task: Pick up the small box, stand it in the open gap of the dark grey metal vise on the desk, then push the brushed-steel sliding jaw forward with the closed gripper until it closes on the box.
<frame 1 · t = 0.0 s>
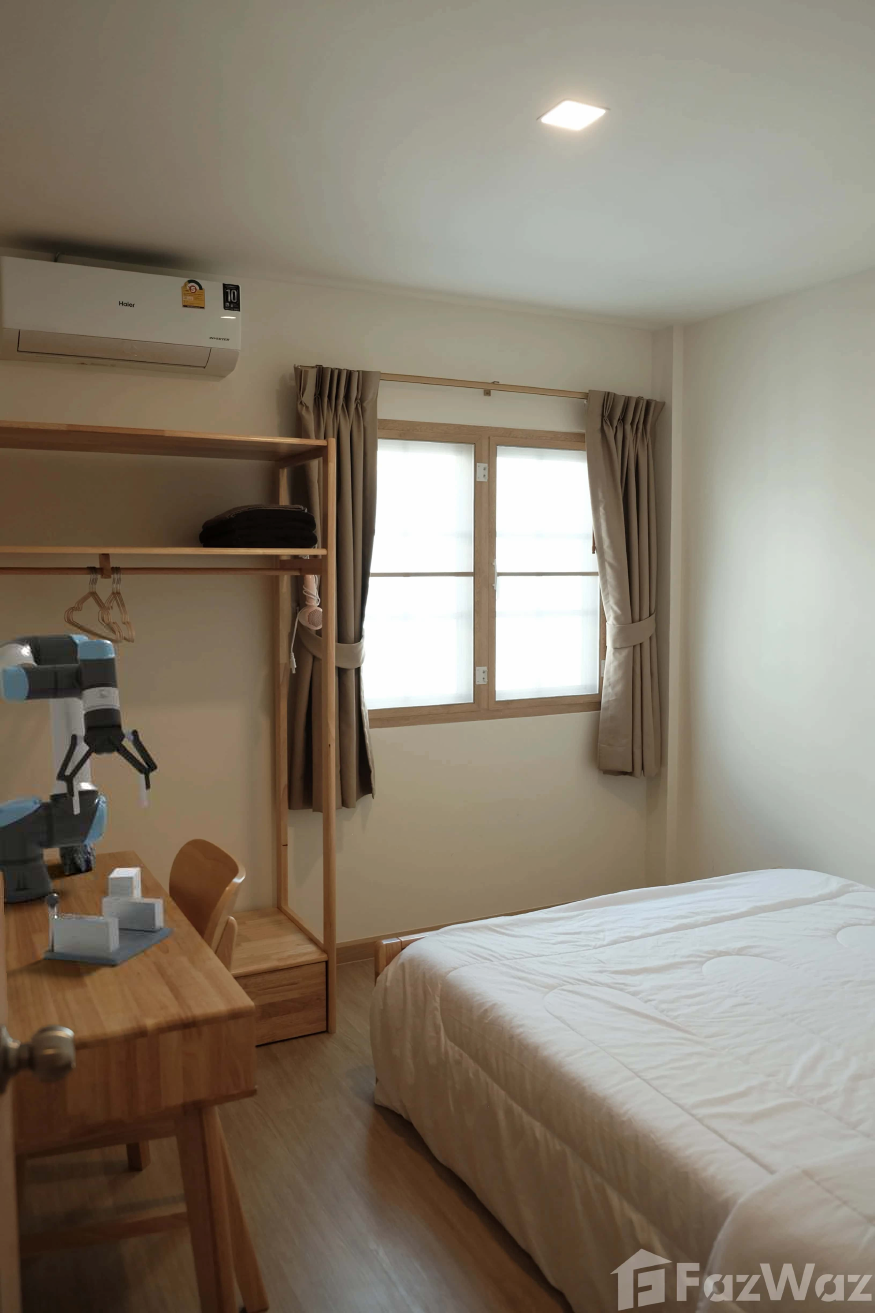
hand: (111, 809, 207), 28 cm above the table, tool tilted 20°, fingers open, 13 cm apart
stone block: (78, 867, 271), on the table
small box: (125, 918, 224), on the table
vise: (110, 945, 206), on the table
jaw: (132, 913, 213), point 4 cm above the table, slide at 0.0 cm
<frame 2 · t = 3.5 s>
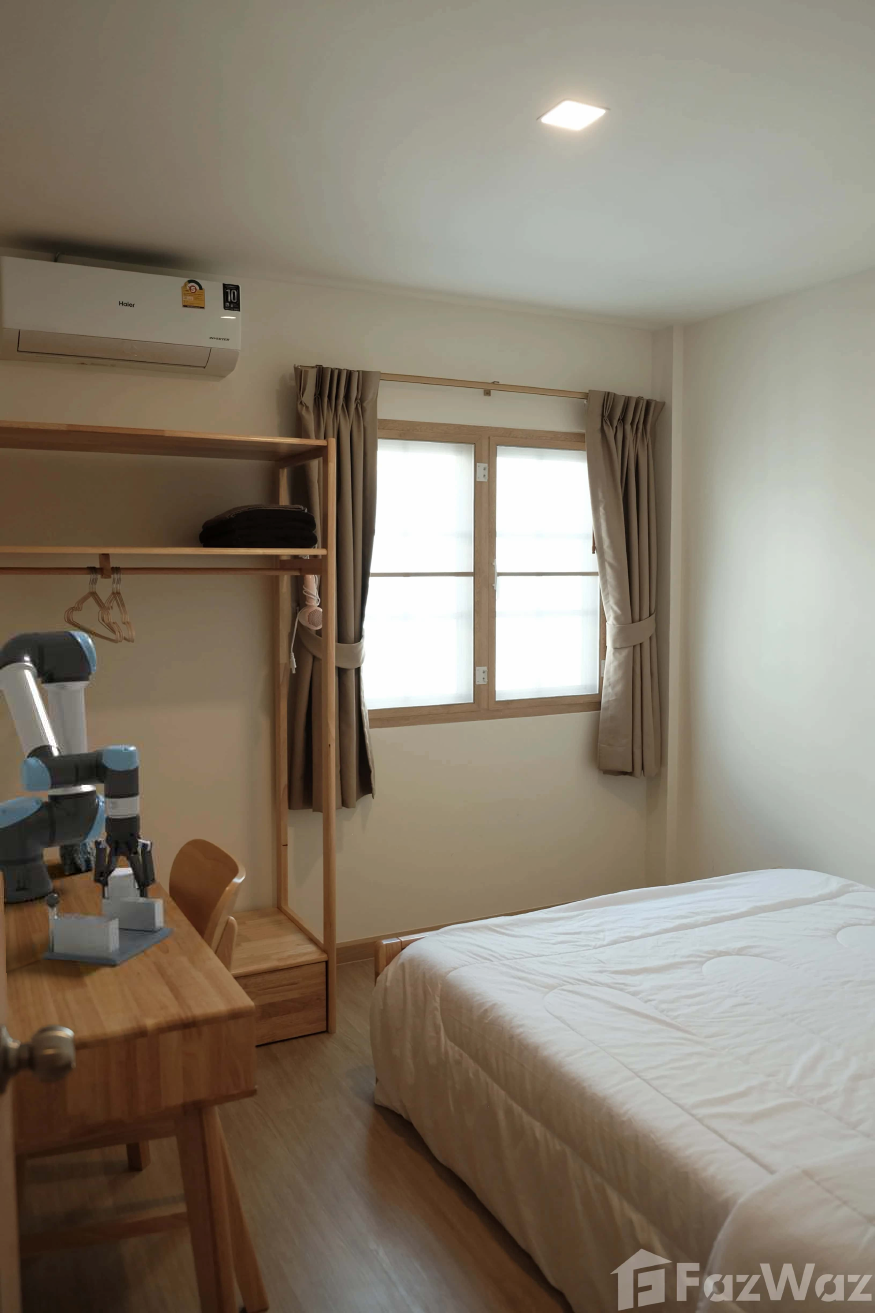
hand: (125, 915, 224), 1 cm above the table, tool pointing down, fingers closed on small box, 7 cm apart
small box: (125, 918, 224), on the table, touching gripper
everything else where it was.
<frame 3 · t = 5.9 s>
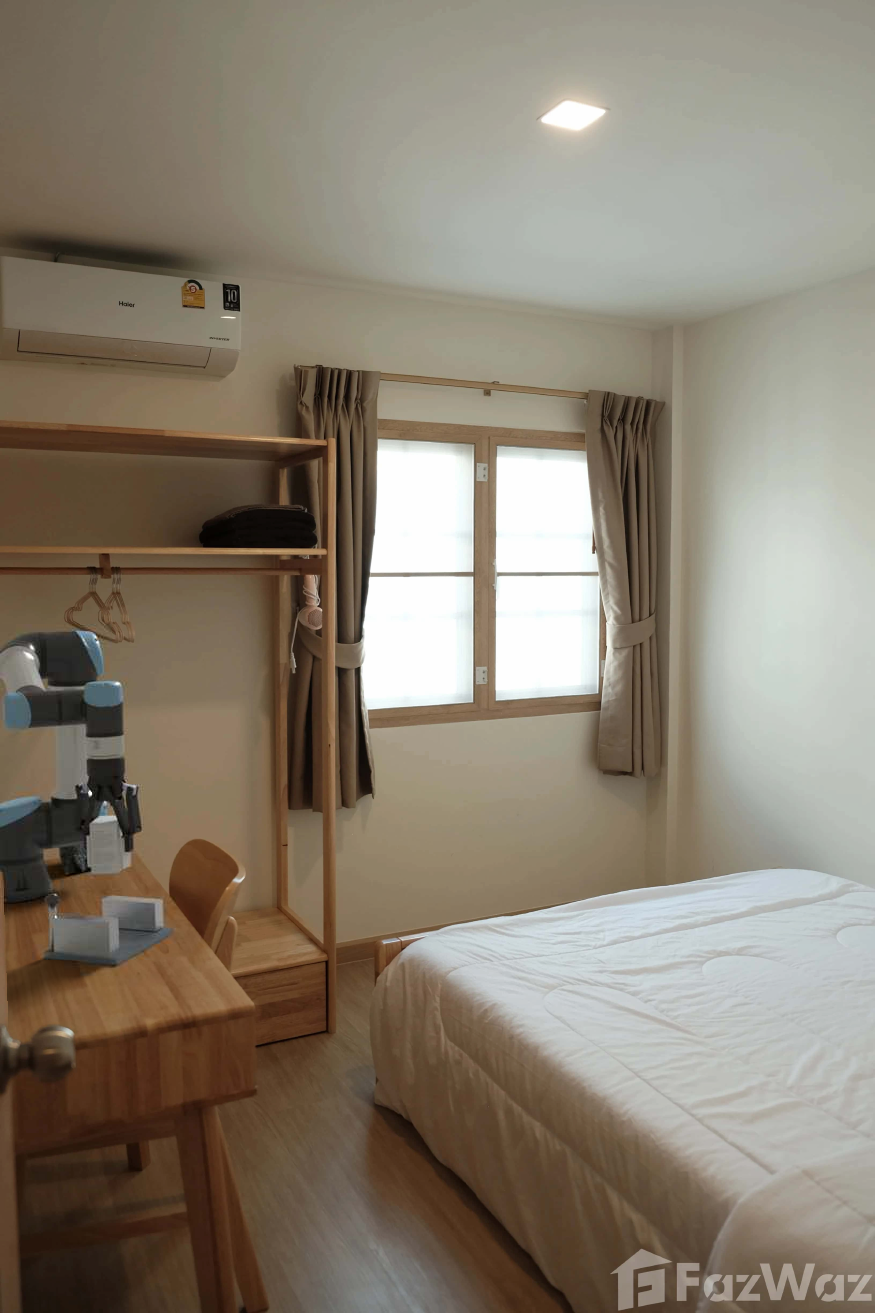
hand: (109, 866, 205), 16 cm above the table, tool pointing down, fingers closed on small box, 7 cm apart
small box: (109, 870, 205), point 16 cm above the table, touching gripper
everything else where it was.
when the fingers open (3 cm above the table, at t = 8.7 s): small box drops 1 cm, resting on vise.
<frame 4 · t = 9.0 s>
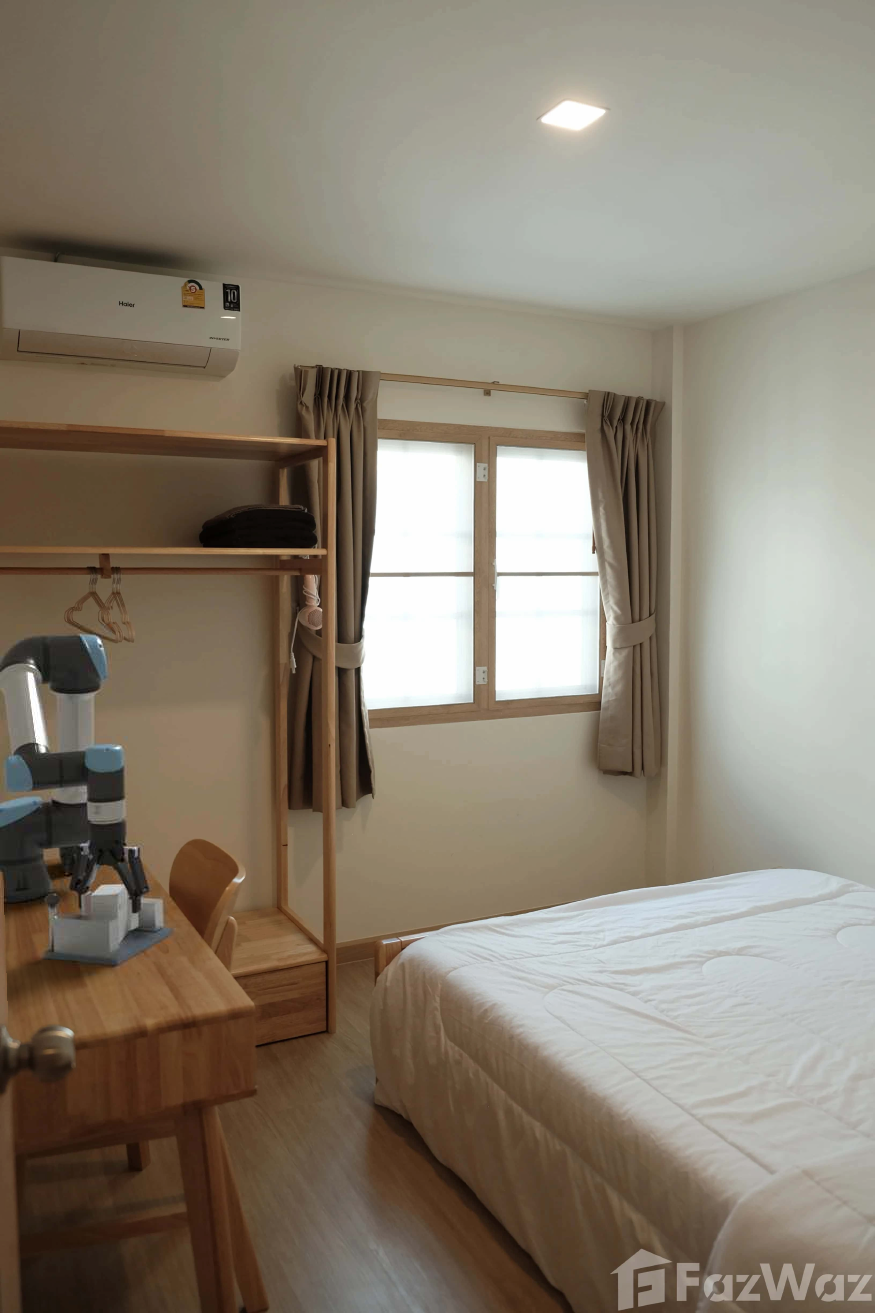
hand: (110, 926, 206), 4 cm above the table, tool pointing down, fingers open, 10 cm apart
small box: (110, 940, 206), point 1 cm above the table, touching vise
everything else where it was.
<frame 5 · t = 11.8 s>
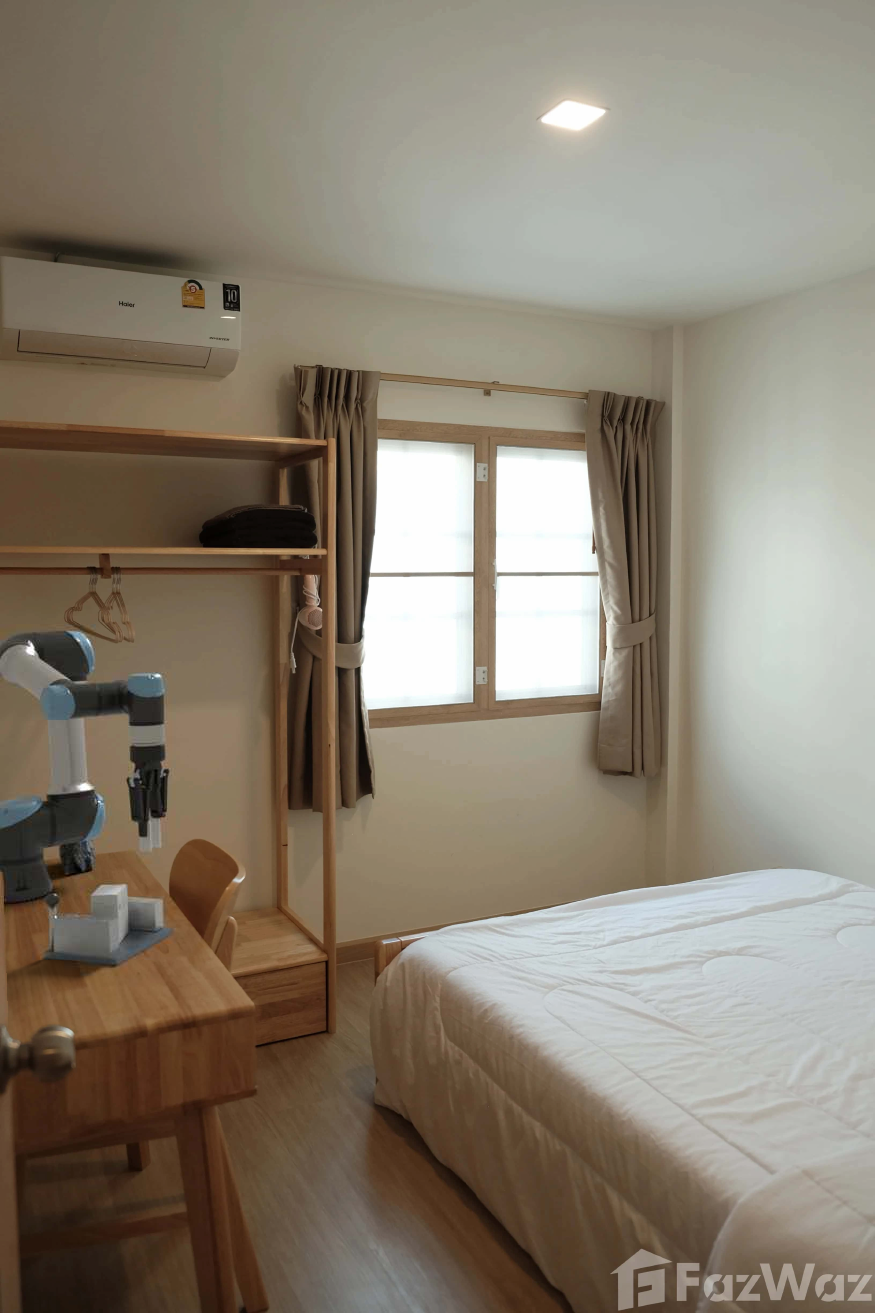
hand: (150, 848, 220), 17 cm above the table, tool pointing down, fingers open, 3 cm apart
nothing on the table moved.
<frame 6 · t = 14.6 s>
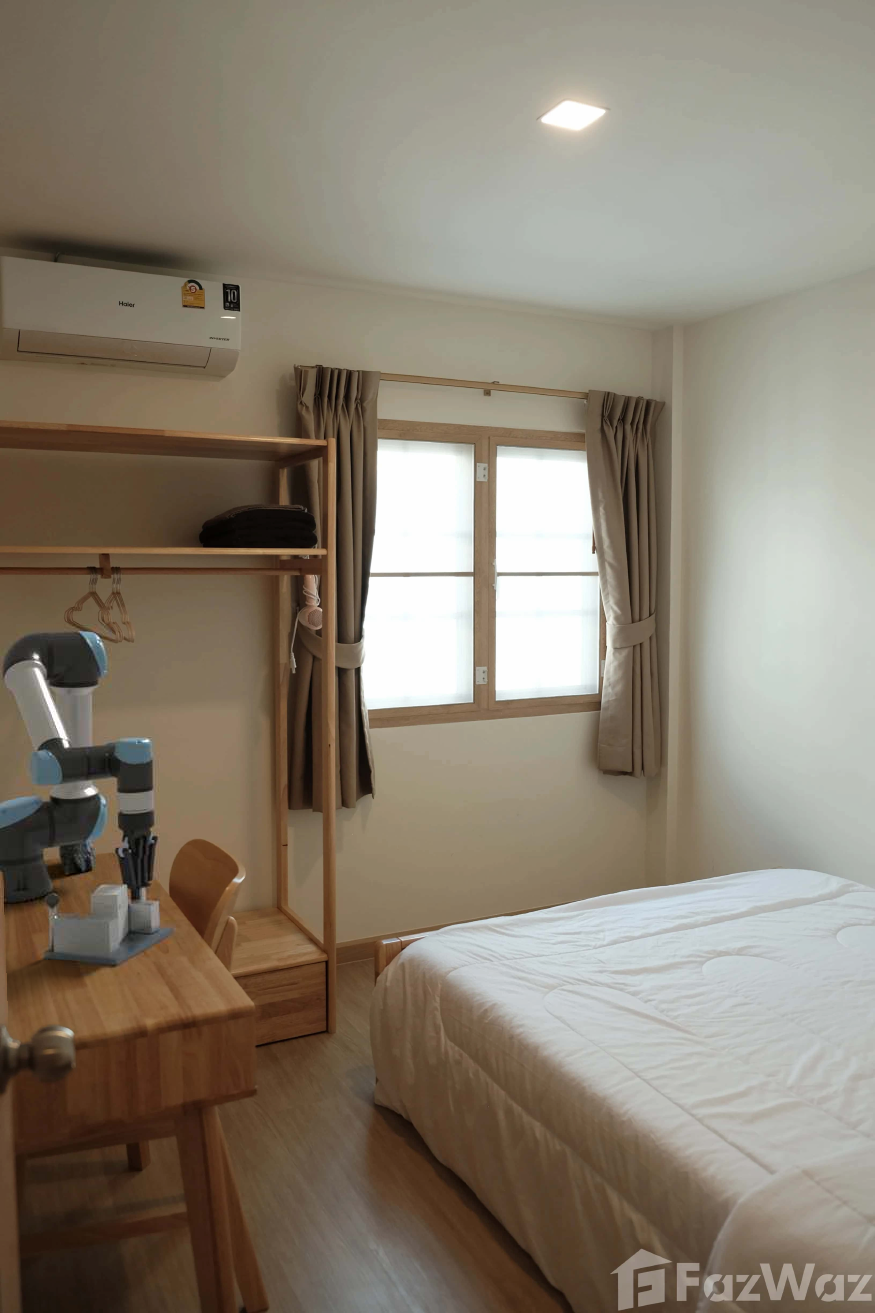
hand: (139, 917, 215), 3 cm above the table, tool pointing down, fingers closed
jaw: (128, 915, 212), point 4 cm above the table, slide at 1.5 cm, touching gripper
everything else where it was.
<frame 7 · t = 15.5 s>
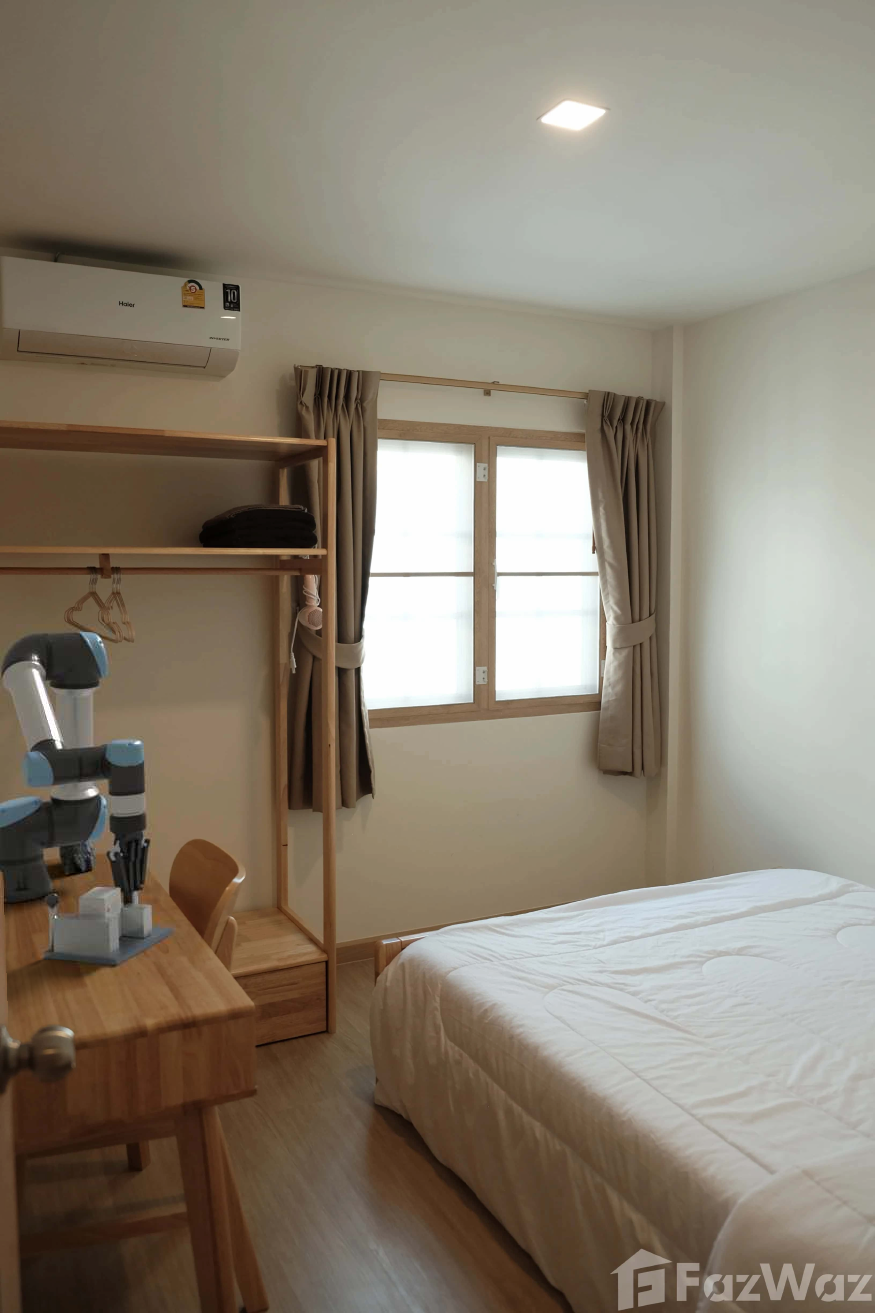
hand: (131, 921, 213), 3 cm above the table, tool pointing down, fingers closed
small box: (101, 943, 204), point 1 cm above the table, touching jaw, vise
jaw: (120, 919, 209), point 4 cm above the table, slide at 4.3 cm, touching gripper, small box
everything else where it was.
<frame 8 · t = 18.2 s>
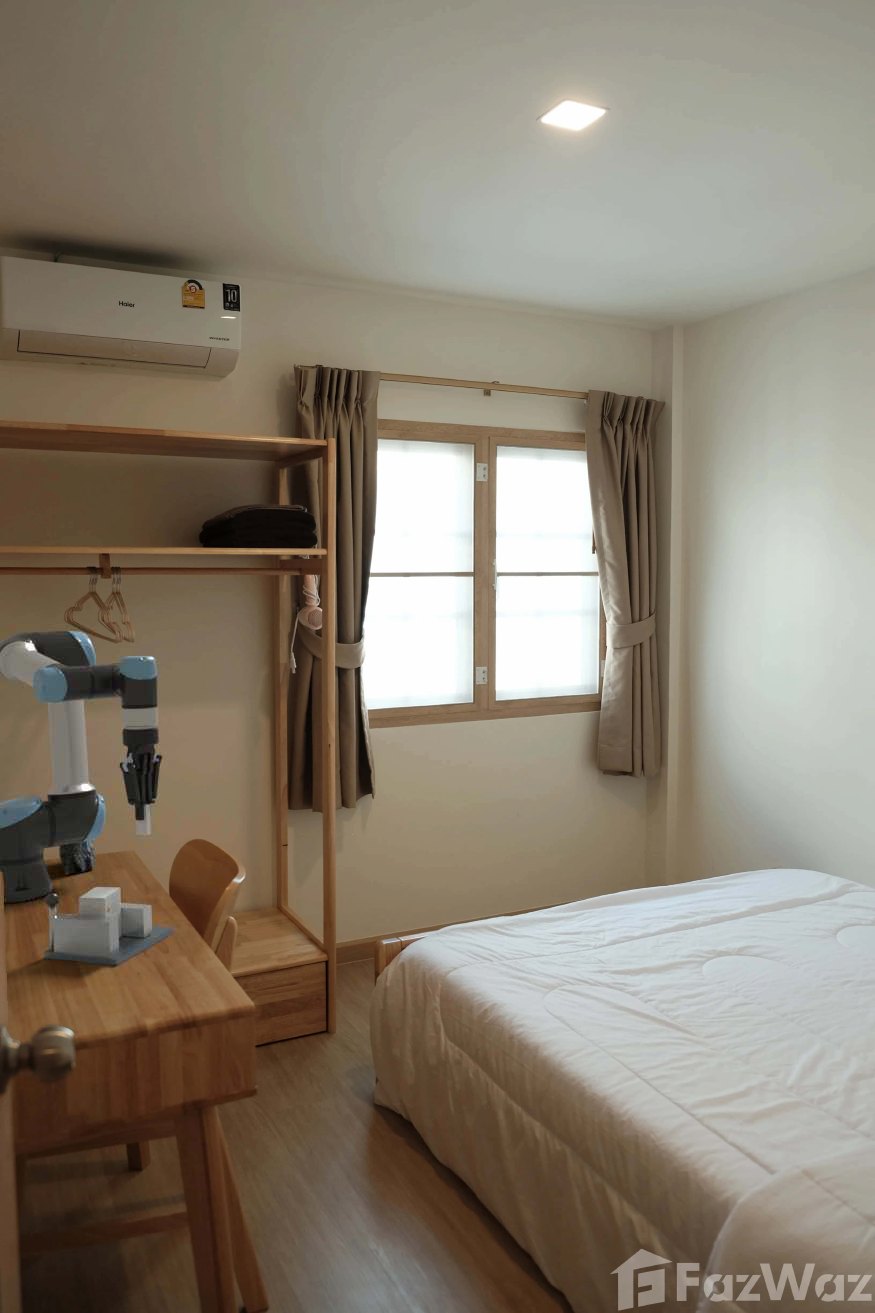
hand: (143, 834, 217), 20 cm above the table, tool pointing down, fingers closed
jaw: (120, 919, 209), point 4 cm above the table, slide at 4.3 cm, touching small box
everything else where it was.
at the end: small box inside the target area on the vise (0.8 cm from its centre), point 1.0 cm above the vise's base; small box tilted 0°; jaw slide at 4.3 cm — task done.
